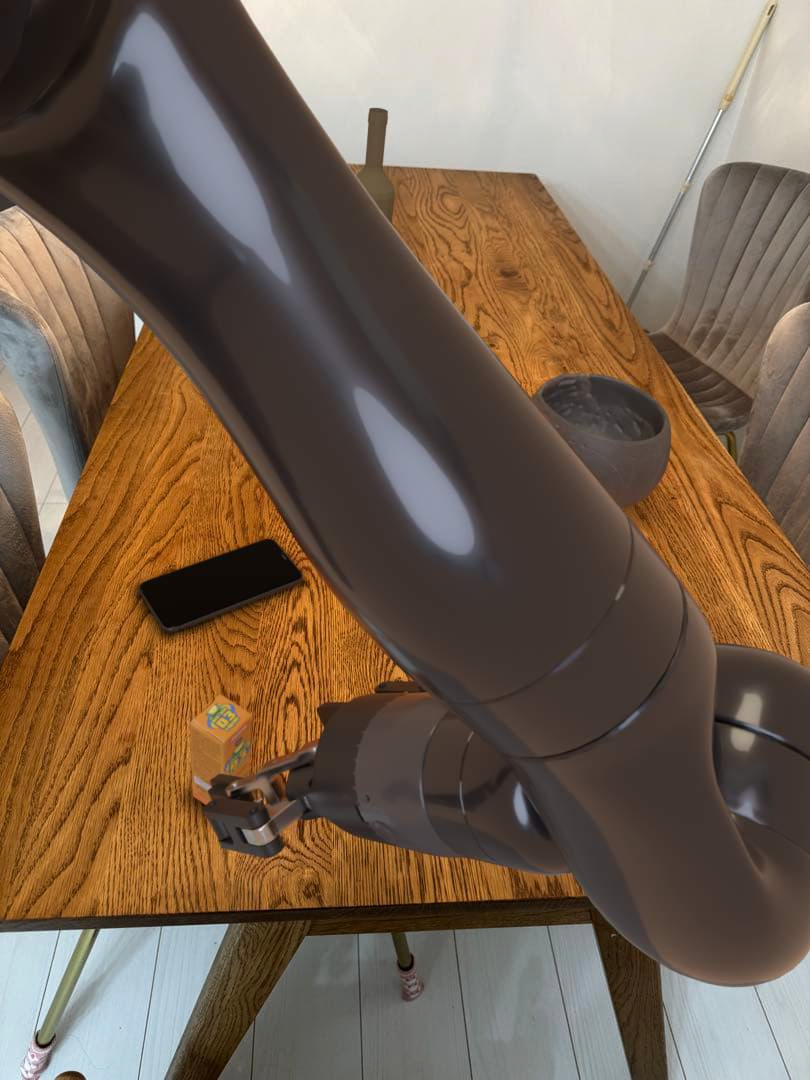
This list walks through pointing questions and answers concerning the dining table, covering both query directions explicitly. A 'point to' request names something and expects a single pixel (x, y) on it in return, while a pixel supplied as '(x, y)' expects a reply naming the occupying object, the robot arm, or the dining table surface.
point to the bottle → (377, 164)
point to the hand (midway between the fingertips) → (274, 753)
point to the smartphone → (219, 584)
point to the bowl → (611, 430)
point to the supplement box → (219, 744)
